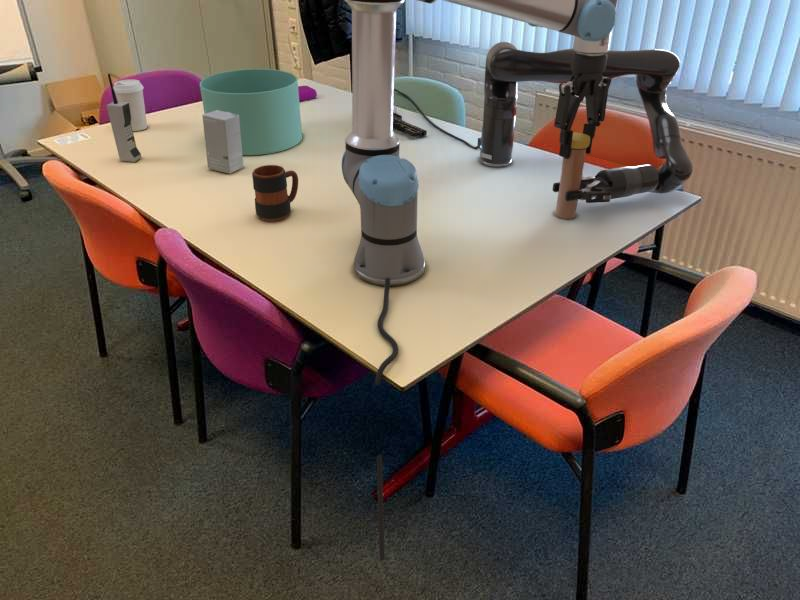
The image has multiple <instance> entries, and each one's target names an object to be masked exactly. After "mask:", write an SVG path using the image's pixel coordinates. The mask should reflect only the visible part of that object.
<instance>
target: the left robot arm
mask: <svg viewBox="0 0 800 600" xmlns="http://www.w3.org/2000/svg"><path fill="white" fill-rule="evenodd" d="M417 1H419V2H423V3H426V4H431V5H432V4H434V3H436V2H437V0H417ZM443 1H444V2H447V3H451V4H455V5H459V6H461V7H462V6H463V7H466V8H470V9H474V10H478V11H480V12H485V13H488V14H492V15H496V16H500V17H504V18H507V19H512V20H515V21H518V22H523V23H526V24H527V25H529V26H530V27H534V28H535V27H538V28H545V29H549V30H552V31H556V32H558V33H561V34H566V35H568V36H569V35H570V36H574V38H573V40H574V41H573V46H572V49H574V51H575V52H574V53H573V54H572V60H571V67H570V68H571V70H572V76H571V78H570V80H569V82H567V83H565V84H563V83H559V84H558V92H559V95H558V99H557V105H556V111H555V117H554V123H553V126H554V128H556V129H559V130H560V134H559V141H558V142H559V144H560V145H559V153H558V156H560V157H562V158H563V157H564V158H566V159H569V156H570V150H571V143H572V136H573V133H574V131H573V130H572V127H573V125H574V121H575V119H576V116H577V114H578V110H579V108H580V105H581V103H582V102H583V101H584V99H585V110H586V111H585V112H586V122H587V123H584V124H583V128H582V133H583V134H587V135H589V136H590V145H589V146H588V147H587V149H586V154H587V155H589V154H591V152H592V145H593V139H594V138H595V135H596V130H597V127H598V128H599V127H600V126H601V124H602V123H603V122H604V121H605V118H606V111H607V104H608V103H607V102H608V96H609V90H610V87H611V84H612V79H611V78H607V77H604V76H602V73H603V72H604V71H605V69H606V63H607V57H608V56H607V54H606V52H607V51H608V50H609V49H610V43H611V37H612V31H613V29H614V27H615V24H616V21H617V10H616V8H617V4H618V0H443ZM344 2H346V3H347V5H348V6H349V7H350V9H351V60H352V61H351V88H352V89H351V91H352V92H351V93H352V94H351V96H352V99H351V101H352V109H351V110H352V111H351V112H352V118H351V119H352V120H351V121H352V131H351V132H350V133H348V134H347V136H346V137H345V139H344V140H345V141H344V142H345V147H344V148H345V150H344V152H343V154H342V157H341V174H342V177H343V179H344V181H345V183H346V185H347V186H348V188H349V189H350V191H351V192H352V194H353V196H354V198H355V199H356V201H357V203H358V205H359V209H360V211H359V212H360V239H359V242H358V247H357V249H356V252H355V256H354V259H353V270H354V273H355V275H356V276H357V277H358V278H359V279H360V280H362V281H364V282H366V283H369V284H370V285H371V284H372V285H376V286H382V287H384V289H383V290H384V291H383V292H384V293H383V302H382V303H383V304H382V310H381V313H380V314H379V317H378V319H377V325H376V326H377V330H378V332H379V333H380V335H381V336H382V338H384V340H386V341H387V342H388V343H389V344H390V346H391V347H392V352H391V354H389V356H388V357H387V358H386V359H385V360H384V361H382V363H381V364H380V366H379V367H378V369H377V371H376V375H375V379H374V385H375V386H379V385H381V383H382V376H383V374H384V371H385V370H386V368H387V367H389V365H390V364H391V363H392V362H393V361H394V360H395V359H396V358H397V356H398V354H399V345H398V343H397V342H396V340H395V339H394V338H393V336H392V335H390V334H389V333H388V332H387V331H386V330H385V328H384V320H385V317H386V315H387V313H388V310H389V302H390V301H389V299H390V287H395V286H402V285H406V284H410V283H413V282H415V281H417V280H418V279H420V278H421V276H423V274H424V273H425V270H426V261H425V255H424V252H423V250H422V247H421V244H420V241H419V238H418V195H419V194H418V193H419V192H418V191H419V187H420V186H419V185H420V184H419V179H418V171H417V169H416V167H415V165H414V164H413V163H412V162H411V161H409V160H408V159H406V158H404V157H403V158H401V157H400V146H401V145H400V144H401V143H400V142H401V141H400V138H399V136H398V135H397V134H395V132H394V128H393V110H394V106H395V104H394V103H395V91H394V89H395V75H396V72H395V71H396V41H397V40H396V38H397V35H396V34H397V11H398V9H399V8H400V7H401V6H402V5H403V4H404V3H405V0H344ZM609 51H610V50H609ZM376 479H377V482H376V484H377V513H378V543H379V544H378V547H379V549H378V550H379V560H380V561H381V562H383V561H385V527H384V524H385V523H384V522H385V521H384V492H383V491H384V483H383V454H378V455H376Z"/></svg>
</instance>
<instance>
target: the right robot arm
mask: <svg viewBox="0 0 800 600" xmlns="http://www.w3.org/2000/svg"><path fill="white" fill-rule="evenodd" d="M574 52H575V51H574V49H573V48H563V49H559V50H553V51H549V52H548V51H547V52H536V51H535V52H534V51H528V50H527V51H526V50H521V49H518V48H517V47H516V46H515V45H514V44H513V43H510V42H508V41H499V42H497V43H495V44H494V45H492V46H491V47H490V49H489V50H488V51H487V54H486V57H485V68H484V83H483V84H484V88H483V93H484V97H483V98H484V100H483V101H484V102H483V118H482V127H481V135H480V136H481V137H478V138H477V145H476V146H473V145H472V144H470V143H469V142H467V141H466V140H464V139H462V138H460V137H458V136H456V135H453V134H452V133H450V132H448V131H446V130H444V129H443V128H441V127H440V126H438V125H436V124H435V123H434V122H433V121H432V120H430V119H429V118H428V117H427V115H426V114H425V113H424V112H423V111H422V109H421V108H420V107H419V106H418V105H417V103H416V102H415V101H414V100H413V99H412V98H411V97H410V96H408V94H406V93H404V92H402V91H400V90H399V89H396V88H394V92H395V93H399V95H402V96H404V97H405V98H406V99H407V100H408V101H410V102H411V103H412V104H413V105H414V107H416V109H417V110H418V111H419V113H420V114H421V116H422V117H423V118H424V119H425V120H426V121H427V123H429V124H430V125H432V126H433V127H434V128H435V129H436V130H438V131H440V132H442V133H443V134H444V135H447V136H449V137H451V138H452V139H455V140H457V141H459V142H462V143H464V144H465V145H466V146H468V147H469V148H471V149H474V150H479V162H480V163H481V164H482V165H483V166H487V167H492V168H503V167H508V166H510V165H512V162H513V161H512V160H513V150H514V148H513V147H514V138H515V128H516V120H517V119H516V118H517V110H518V109H517V106H518V100H519V99H518V98H519V97H518V96H519V93H518V83H520V82H544V83H545V82H546V83H552V84H561V83H563V84H565V83H567V82H569V80H570V78H571V76H572V70H571V68H570V67H571V60H572V54H573V53H574ZM606 54H607V56H608V57H607V63H606V69H605V71H604V72H603V73H602V76H604V77H607V78H611V80H613V79H617V78H619V77H623V76H633V75H635V84H636V88H637V91H638V94H639V96H640V99H641V101H642V105H643V107H644V110H645V113H646V117H647V120H648V124H649V129H650V135H651V141H652V143H651V144H652V149H653V153H654V155H655V157H656V158H658V159H659V160H660V159H661V160H665V162H664V163H663V164H661V165H660V166H659V167H658V168H656V167H655V166H654V165H652V164H640V165H633V166H620V167H613V168H607V169H606V168H605V169H601V170H599V171H598V172H597V173H596V174H595V175H594V176H583V175H584V172H583V173H582V179H581V186H580V190H574V191H568V192H566V193H565V200H566V201H572V200H578V201H579V200H580V201H581V202H582V201H585V203H586V204H598V203H610V202H611V200H615V199H621V198H626V197H631V196H634V195H639V194H645V193H650V194H661V195H662V194H668V193H672V192H673V191H675V190H677V189H678V188H679V187H680V186H681V185H683V184H684V183H686V181H688V180H689V179H690V178H691V176H692V175H693V168H694V165H693V162H692V160H691V157H690V156H689V154H688V152H687V150H686V148H685V147H684V145H683V140H682V135H681V129H680V125H679V122H678V119H677V118H676V116H675V114H673V112H671V110H670V109H669V107H668V104H667V88H668V87H669V86H670V84H671V83H672V82H673V80H674V78H675V77H676V75H677V73H678V72H679V69H680V67H681V61H680V59H679V56H677V55H676V54H675V53H673V52H672V51H669V50H665V49H638V50H608V51H607V52H606ZM559 184H560V181H558V182H554V183H553V184H552V192H554V193H558V191H559Z"/></svg>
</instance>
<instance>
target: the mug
mask: <svg viewBox="0 0 800 600" xmlns="http://www.w3.org/2000/svg"><path fill="white" fill-rule="evenodd" d="M251 175H252V176H251V177H252V186H253V190H254V195H255V196H254V206H255V207H254V209H255V215H256V216H257V217H258V218H259V219H260V220H262V221H265V222H279V221H282V220H285V219H286V218H288V217H289V215H290V214H291V212H292V207H291V203H292V202H294V200H295V198H296V197H297V194H298V189H299V176H298V174H297V172H296V171H294V170H287V171H286V170H285V168H284V167H283V166H281V165H277V164H267V165H261V166H258V167H256V168H254V169H253V171H252V174H251ZM290 177H291V181H292V182H291V188H290V189H291V190H290V194H288V188H287V187H288V182H287V180H288V179H287V178H290Z"/></svg>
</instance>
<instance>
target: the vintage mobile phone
mask: <svg viewBox="0 0 800 600" xmlns="http://www.w3.org/2000/svg"><path fill="white" fill-rule="evenodd" d="M107 78H108V82H109V85H110V90H111V92H110V93H111V96H112V100H113V101H112V102H110V103H108V104H106V109H107V115H108V118H109V122H110V125H111V130H112V134H113V139H114V141H115V142H114V143H115V145H116V151H117V153H118V154H117V155H118V158H119V161H121V162H131V163H135V162H138V160H140V159H142V153H141V151H139V149H138V148H137V147H138V146H137V143H136V139H135V134H134V131H133V130H132V126H131V112H130V105H129V102H118V100H117V97H116V94H115V91H114V89H113V87H114V84H113V81H112V76H111V73H107Z"/></svg>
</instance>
